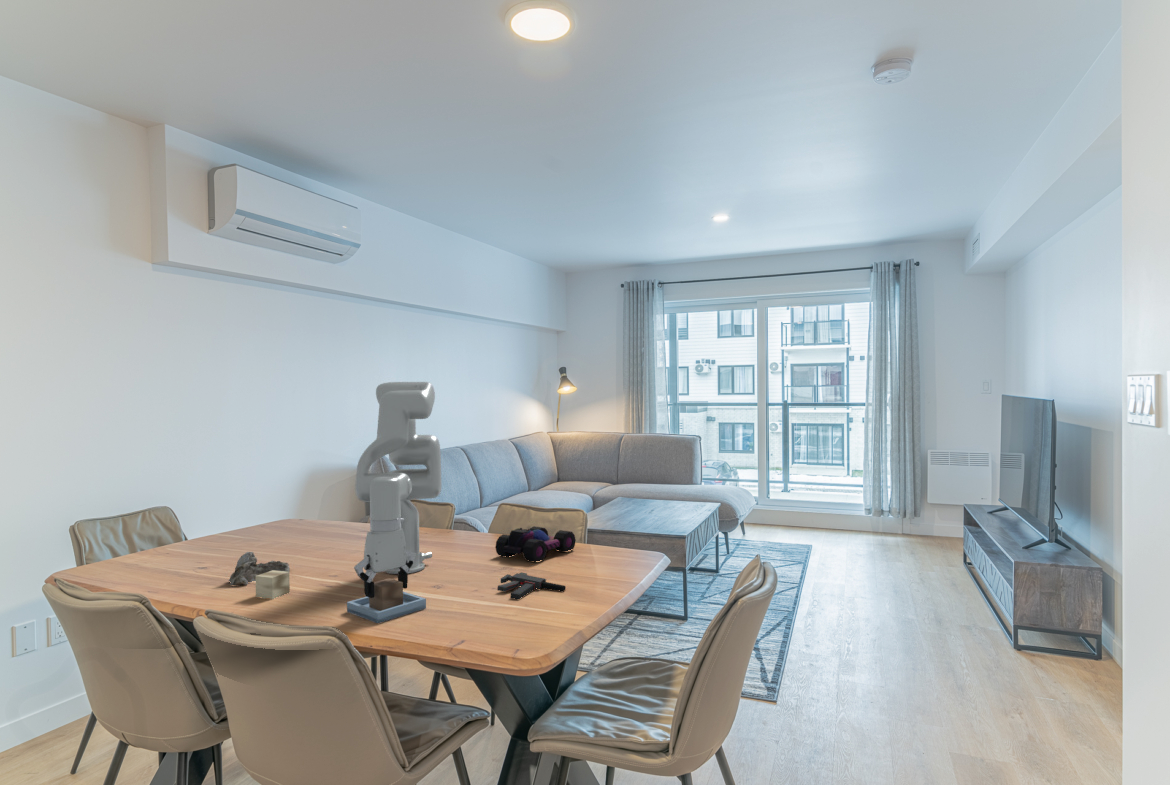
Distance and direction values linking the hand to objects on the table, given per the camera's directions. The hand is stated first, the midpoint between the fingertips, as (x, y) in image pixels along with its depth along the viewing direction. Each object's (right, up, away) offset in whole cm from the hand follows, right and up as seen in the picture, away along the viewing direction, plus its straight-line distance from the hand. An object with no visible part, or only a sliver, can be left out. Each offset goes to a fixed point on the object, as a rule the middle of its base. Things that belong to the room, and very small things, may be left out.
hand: (386, 592), depth 165 cm
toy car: (+34, -5, +57) cm, 66 cm away
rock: (-49, -6, +32) cm, 59 cm away
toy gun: (+35, -5, +14) cm, 38 cm away
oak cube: (-36, -5, +14) cm, 39 cm away
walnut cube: (0, -4, 0) cm, 4 cm away
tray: (0, -5, 0) cm, 5 cm away
